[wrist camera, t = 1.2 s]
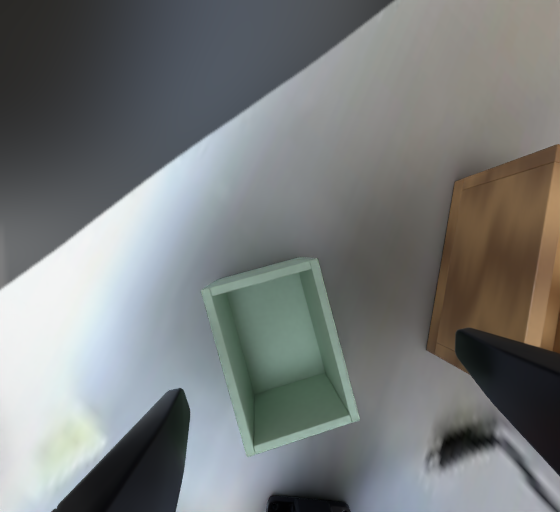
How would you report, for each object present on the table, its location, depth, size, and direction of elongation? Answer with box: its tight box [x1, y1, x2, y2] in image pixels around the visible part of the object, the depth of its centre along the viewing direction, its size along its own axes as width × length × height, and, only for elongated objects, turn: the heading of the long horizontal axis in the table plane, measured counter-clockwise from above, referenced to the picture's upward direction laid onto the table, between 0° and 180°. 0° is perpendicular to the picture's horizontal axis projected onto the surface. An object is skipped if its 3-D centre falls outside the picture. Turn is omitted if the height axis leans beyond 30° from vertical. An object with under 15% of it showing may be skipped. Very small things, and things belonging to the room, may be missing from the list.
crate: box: [426, 144, 560, 375], centre depth 18 cm, size 14×11×8 cm
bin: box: [201, 257, 360, 457], centre depth 18 cm, size 10×7×6 cm
